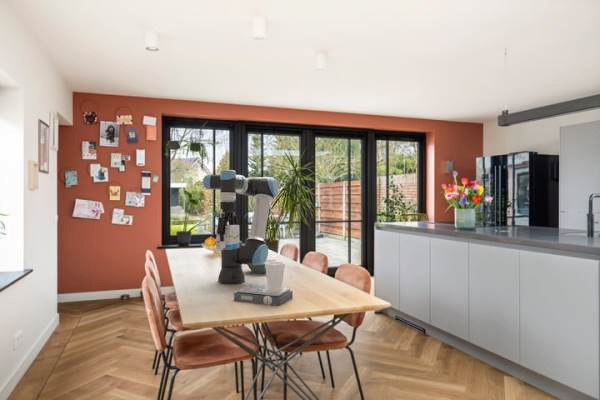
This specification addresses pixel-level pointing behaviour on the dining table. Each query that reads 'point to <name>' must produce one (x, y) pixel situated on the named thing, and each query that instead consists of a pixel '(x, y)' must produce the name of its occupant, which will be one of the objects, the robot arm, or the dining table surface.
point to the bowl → (261, 266)
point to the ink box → (229, 237)
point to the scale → (263, 298)
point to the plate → (261, 290)
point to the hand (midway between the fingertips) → (227, 246)
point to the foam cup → (274, 275)
